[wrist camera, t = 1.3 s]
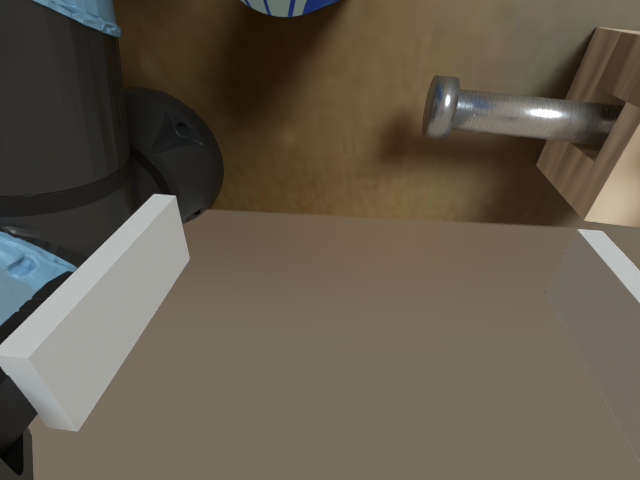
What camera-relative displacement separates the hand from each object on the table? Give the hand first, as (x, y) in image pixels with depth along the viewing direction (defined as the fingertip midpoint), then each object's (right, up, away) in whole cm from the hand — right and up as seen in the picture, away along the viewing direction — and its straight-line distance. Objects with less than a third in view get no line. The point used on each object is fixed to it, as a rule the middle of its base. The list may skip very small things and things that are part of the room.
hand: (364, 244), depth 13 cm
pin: (+15, +11, +18) cm, 26 cm away
